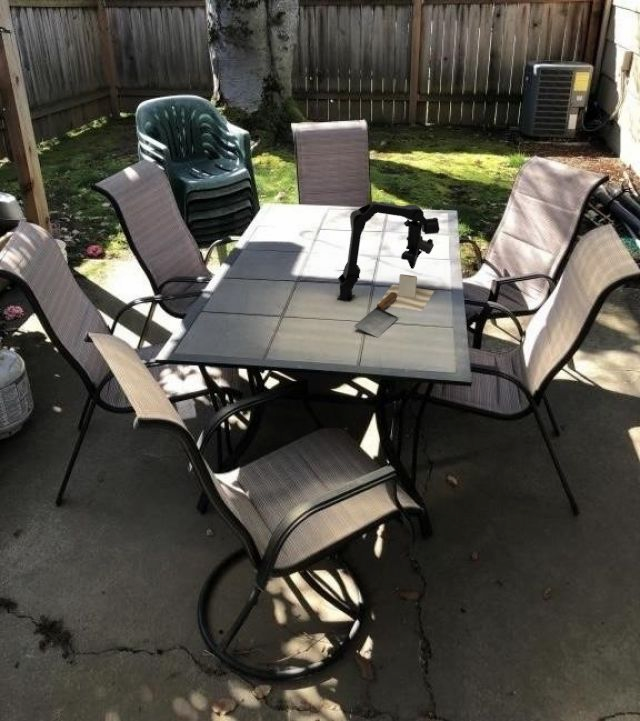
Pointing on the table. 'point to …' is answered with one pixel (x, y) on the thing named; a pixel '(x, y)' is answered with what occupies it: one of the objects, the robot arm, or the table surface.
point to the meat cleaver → (378, 318)
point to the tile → (407, 286)
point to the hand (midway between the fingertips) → (412, 267)
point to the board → (409, 299)
